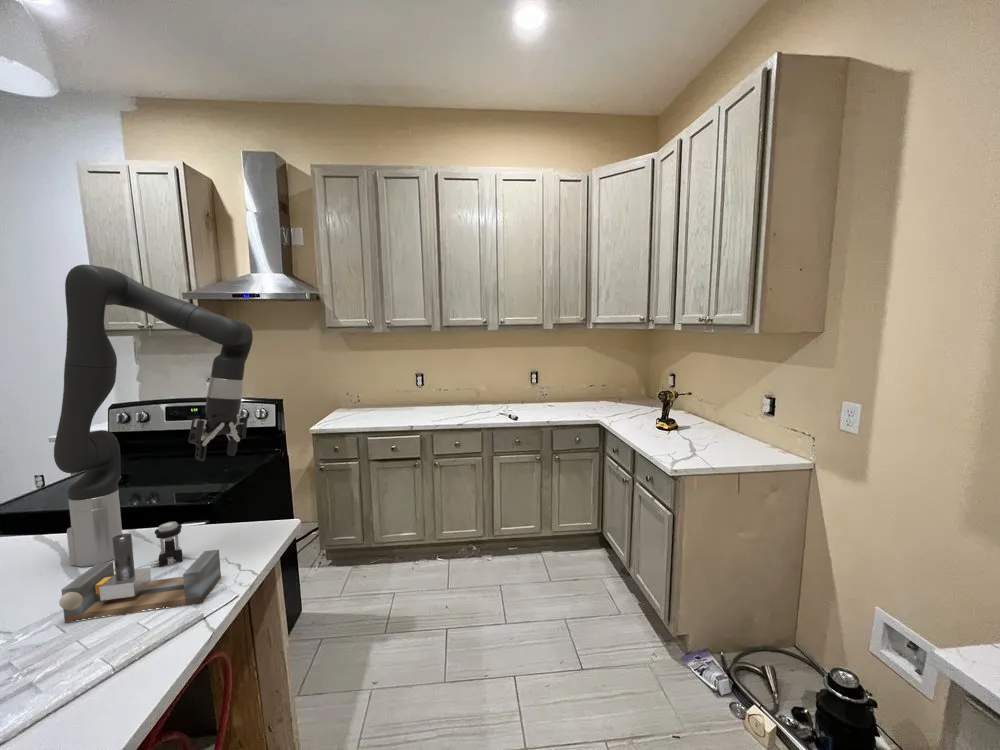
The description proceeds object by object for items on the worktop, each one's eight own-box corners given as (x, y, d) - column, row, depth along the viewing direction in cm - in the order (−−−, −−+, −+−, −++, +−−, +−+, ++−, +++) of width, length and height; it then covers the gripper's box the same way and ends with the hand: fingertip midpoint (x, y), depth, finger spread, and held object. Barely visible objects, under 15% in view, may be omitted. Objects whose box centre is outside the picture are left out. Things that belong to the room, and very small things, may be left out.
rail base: (61, 624, 83) (58, 590, 82) (98, 593, 93) (95, 563, 92) (200, 604, 88) (198, 573, 88) (221, 577, 98) (218, 549, 98)
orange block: (96, 594, 87) (95, 585, 87) (105, 586, 90) (104, 577, 90) (105, 593, 87) (104, 584, 87) (114, 585, 90) (113, 576, 90)
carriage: (100, 600, 86) (95, 544, 85) (119, 584, 92) (114, 532, 91) (134, 596, 87) (129, 541, 86) (151, 580, 93) (146, 528, 92)
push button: (150, 572, 101) (146, 533, 100) (151, 563, 105) (148, 525, 104) (184, 563, 105) (181, 525, 104) (184, 555, 109) (181, 518, 109)
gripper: (237, 394, 116) (229, 451, 115) (186, 393, 102) (177, 459, 102) (258, 397, 114) (250, 456, 113) (210, 397, 100) (200, 464, 100)
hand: (216, 457), depth 108 cm, fingers open, 8 cm apart
